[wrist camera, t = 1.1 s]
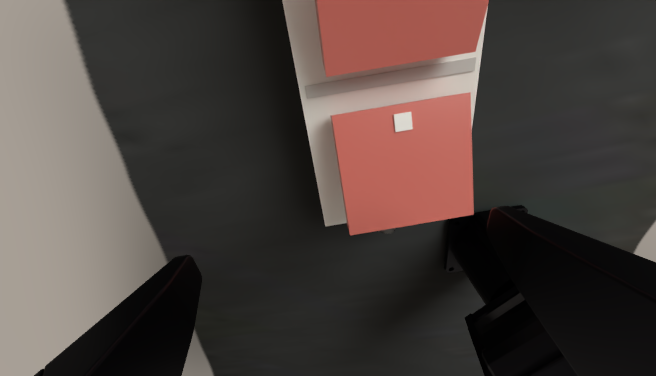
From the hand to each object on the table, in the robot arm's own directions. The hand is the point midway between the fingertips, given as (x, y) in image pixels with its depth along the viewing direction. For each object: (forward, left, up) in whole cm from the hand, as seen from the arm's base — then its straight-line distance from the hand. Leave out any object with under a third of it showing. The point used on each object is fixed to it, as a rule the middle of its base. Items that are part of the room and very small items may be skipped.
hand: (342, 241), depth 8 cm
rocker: (-1, -4, -6) cm, 7 cm away
